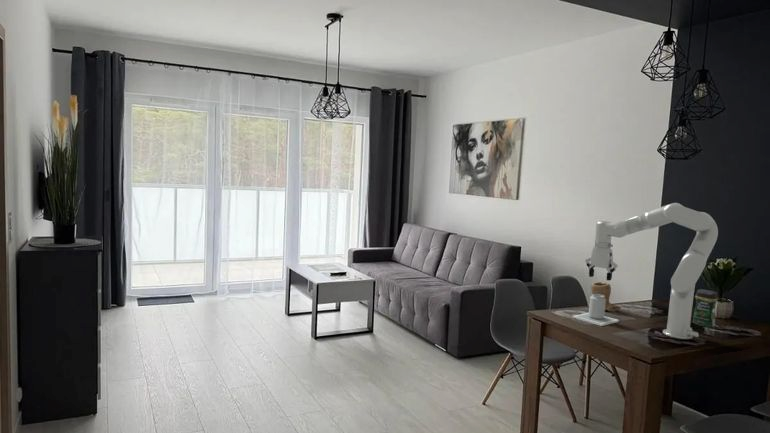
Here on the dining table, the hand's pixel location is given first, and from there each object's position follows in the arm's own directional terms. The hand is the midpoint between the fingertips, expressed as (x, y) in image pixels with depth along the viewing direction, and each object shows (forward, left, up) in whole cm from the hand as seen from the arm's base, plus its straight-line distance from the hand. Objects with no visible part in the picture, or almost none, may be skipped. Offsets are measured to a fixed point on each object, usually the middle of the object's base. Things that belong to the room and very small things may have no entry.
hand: (599, 278), depth 273 cm
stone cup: (+11, -25, -22) cm, 35 cm away
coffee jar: (-33, -46, -22) cm, 61 cm away
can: (0, 0, -21) cm, 21 cm away
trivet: (0, 0, -22) cm, 22 cm away
